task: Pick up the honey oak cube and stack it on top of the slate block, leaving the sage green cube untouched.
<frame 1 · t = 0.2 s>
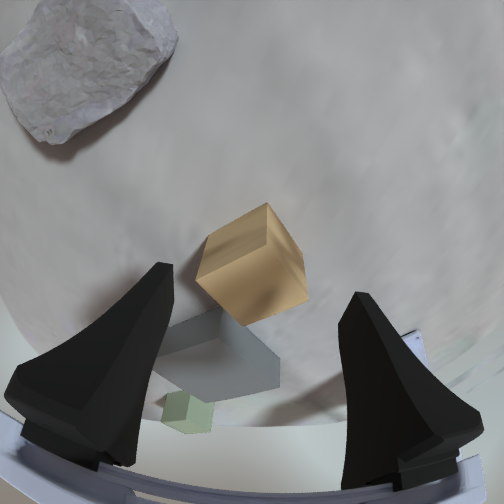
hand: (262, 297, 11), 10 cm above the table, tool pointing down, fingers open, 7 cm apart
stone block: (92, 55, 14), on the table
slate block: (215, 345, 30), on the table
sage cube: (190, 397, 39), on the table
oak cube: (256, 243, 22), on the table
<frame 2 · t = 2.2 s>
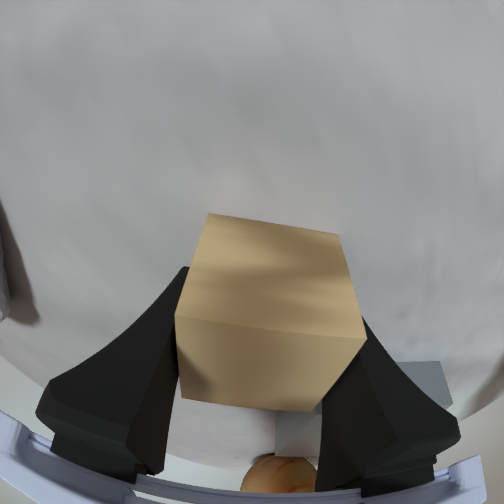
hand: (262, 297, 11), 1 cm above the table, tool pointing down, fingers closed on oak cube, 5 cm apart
slate block: (352, 392, 20), on the table
onion: (282, 453, 31), on the table
oak cube: (263, 273, 13), on the table, touching gripper
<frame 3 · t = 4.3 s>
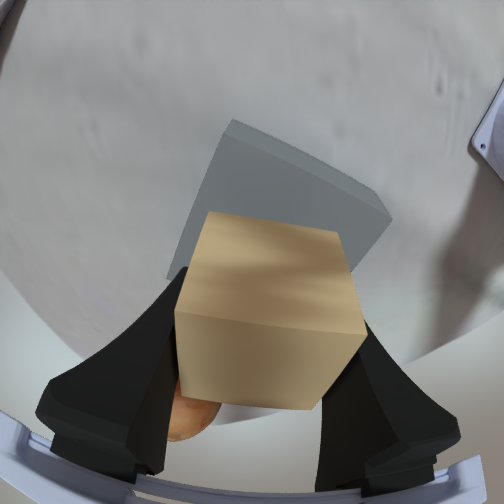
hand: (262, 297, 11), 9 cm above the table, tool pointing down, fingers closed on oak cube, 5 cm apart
slate block: (272, 215, 20), on the table
onion: (182, 352, 30), on the table
oak cube: (263, 271, 13), point 7 cm above the table, touching gripper
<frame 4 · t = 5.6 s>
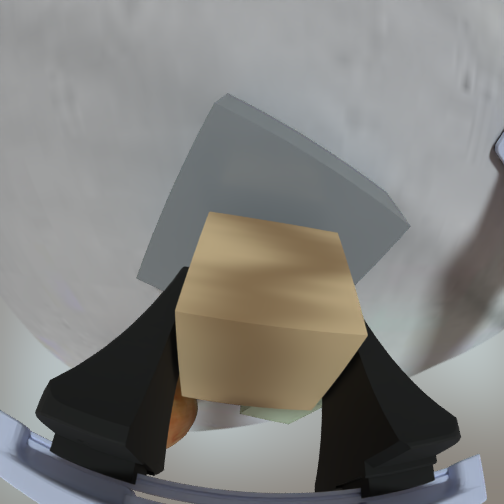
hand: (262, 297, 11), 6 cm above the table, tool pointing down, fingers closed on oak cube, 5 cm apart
slate block: (265, 212, 17), on the table
onion: (155, 357, 27), on the table
sage cube: (281, 361, 25), on the table
oak cube: (263, 272, 13), point 5 cm above the table, touching gripper
when the fingers open (6 cm above the table, at t = 6.3 s): oak cube drops 1 cm, resting on slate block.
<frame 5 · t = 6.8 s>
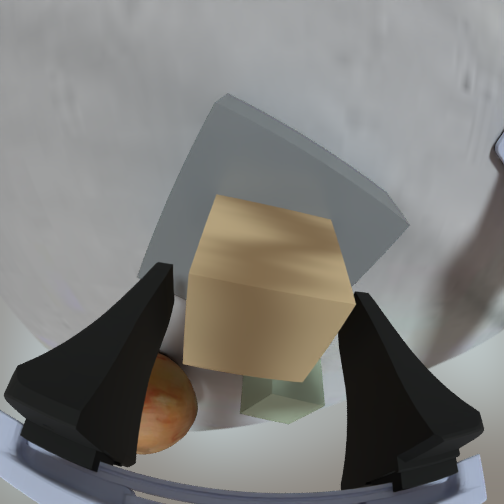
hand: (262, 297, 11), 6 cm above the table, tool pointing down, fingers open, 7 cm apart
slate block: (265, 211, 17), on the table, touching oak cube
onion: (155, 357, 27), on the table
sage cube: (281, 361, 25), on the table
oak cube: (261, 253, 14), point 4 cm above the table, touching slate block
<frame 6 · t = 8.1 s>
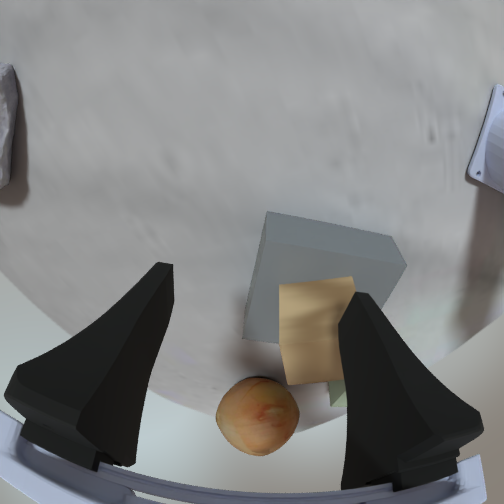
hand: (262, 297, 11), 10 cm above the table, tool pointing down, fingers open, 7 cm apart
slate block: (314, 272, 24), on the table, touching oak cube
onion: (259, 381, 35), on the table
sage cube: (353, 361, 32), on the table
oak cube: (317, 305, 21), point 4 cm above the table, touching slate block
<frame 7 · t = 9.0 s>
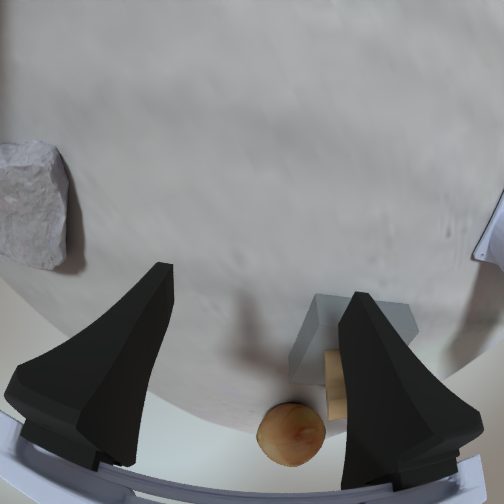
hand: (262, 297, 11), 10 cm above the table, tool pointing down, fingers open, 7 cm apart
stone block: (39, 198, 21), on the table
slate block: (345, 329, 29), on the table, touching oak cube
onion: (291, 405, 40), on the table
oak cube: (350, 361, 26), point 4 cm above the table, touching slate block
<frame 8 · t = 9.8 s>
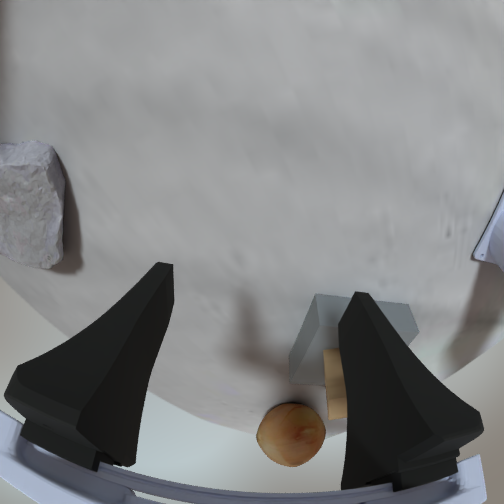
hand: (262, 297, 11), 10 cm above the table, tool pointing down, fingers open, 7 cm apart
stone block: (36, 198, 21), on the table
slate block: (346, 329, 29), on the table, touching oak cube
onion: (291, 405, 40), on the table
oak cube: (349, 360, 26), point 4 cm above the table, touching slate block
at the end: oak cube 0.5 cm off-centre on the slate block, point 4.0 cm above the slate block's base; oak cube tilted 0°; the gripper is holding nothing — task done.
